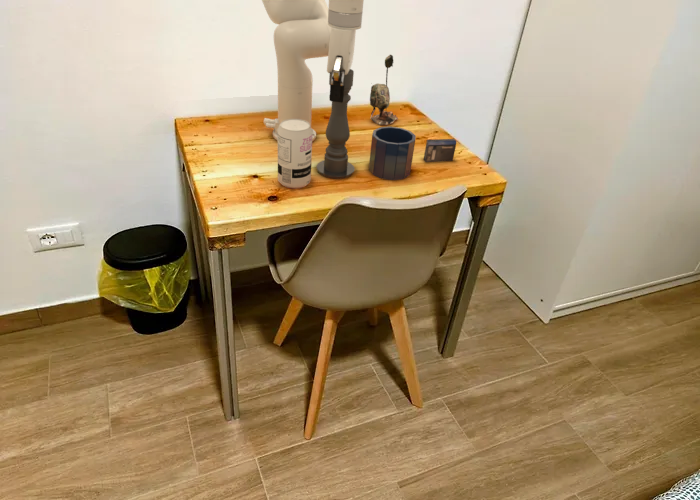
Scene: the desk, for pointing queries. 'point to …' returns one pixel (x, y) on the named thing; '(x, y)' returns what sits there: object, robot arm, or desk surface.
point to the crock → (391, 153)
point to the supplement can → (294, 153)
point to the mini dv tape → (439, 150)
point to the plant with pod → (382, 99)
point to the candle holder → (338, 130)
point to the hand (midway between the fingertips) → (339, 94)
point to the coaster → (331, 175)
